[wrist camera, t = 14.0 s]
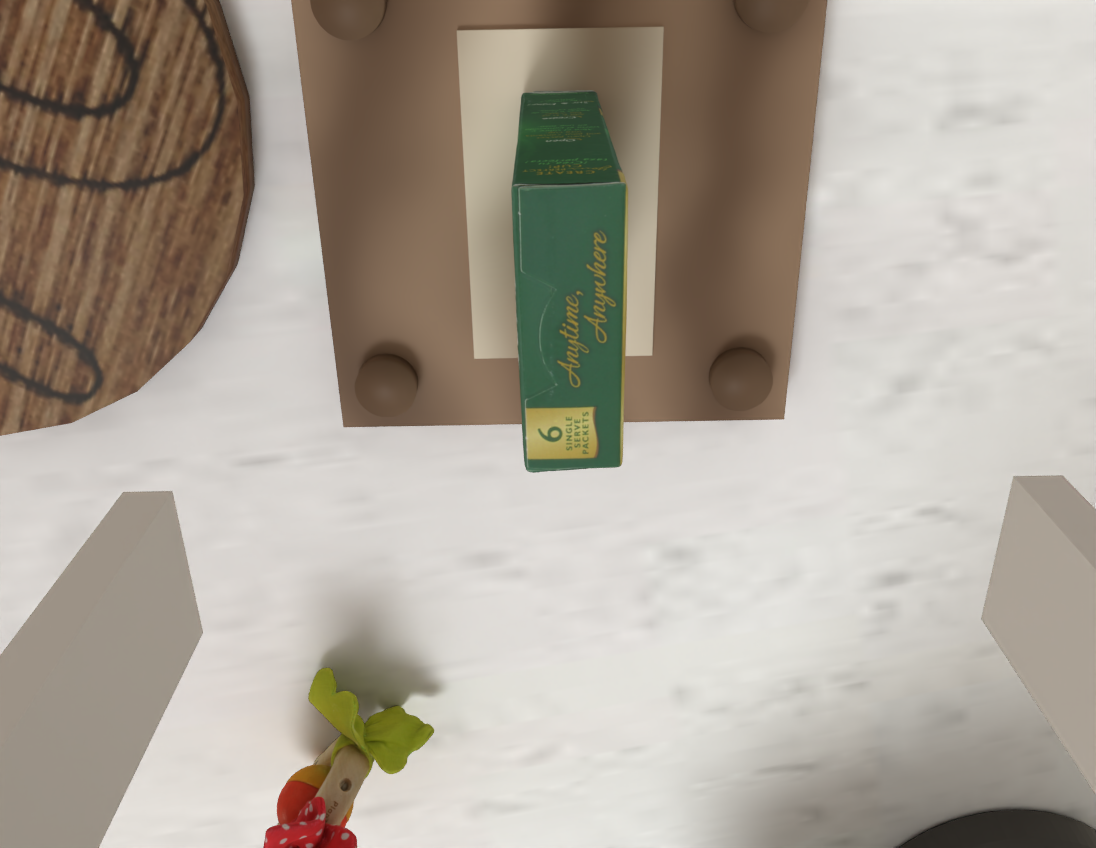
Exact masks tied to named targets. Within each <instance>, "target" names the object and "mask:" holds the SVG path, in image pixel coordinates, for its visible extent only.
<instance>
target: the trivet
mask: <svg viewBox="0 0 1096 848" xmlns="http://www.w3.org/2000/svg"><path fill="white" fill-rule="evenodd" d="M254 186H255V183H254V166H253V149H252V132H251V115H250V98H249V94H248V91H247V88H246V84H245V81H244V78H243V75H242V71H241V68H240V65H239V62H238V59H237V55H236V52H235V49H234V46H233V43H232V39H231V36H230V33H229V30H228V27H227V23H226V20H225V17H224V14H223V11H222V7H221V4H220V1H219V0H0V436H1V435H7V434H12V433H18V432H23V431H29V430H34V429H40V428H46V427H51V426H57V425H62V424H68V423H72V422H74V421H77V420H79V419H81V418H83V417H85V416H87V415H89V414H91V413H93V412H95V411H97V410H99V409H101V408H103V407H106V406H108V405H110V404H112V403H114V402H116V401H118V400H120V399H122V398H124V397H126V396H128V395H130V394H132V393H135V392H137V391H138V390H139V389H140V388H141V387H142V386H143V385H144V384H145V383H147V382H148V381H149V380H150V379H151V378H152V377H153V376H154V375H155V374H156V373H157V372H158V371H159V370H160V369H162V368H163V367H164V366H165V365H166V364H167V363H168V362H169V361H170V360H171V359H172V358H173V357H174V356H175V355H177V354H178V353H179V352H180V351H181V350H182V349H183V348H184V347H185V346H186V345H187V344H188V343H189V342H190V341H191V340H192V339H193V338H194V337H195V335H196V334H197V333H198V332H199V331H200V330H201V328H202V327H203V325H204V323H205V322H206V320H207V318H208V316H209V314H210V313H211V311H212V309H213V307H214V306H215V304H216V302H217V300H218V298H219V297H220V295H221V293H222V291H223V289H224V288H225V286H226V284H227V282H228V281H229V279H230V277H231V275H232V273H233V272H234V270H235V268H236V266H237V264H238V261H239V256H240V251H241V247H242V242H243V237H244V233H245V228H246V224H247V219H248V214H249V210H250V205H251V200H252V196H253V191H254Z"/></svg>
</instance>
